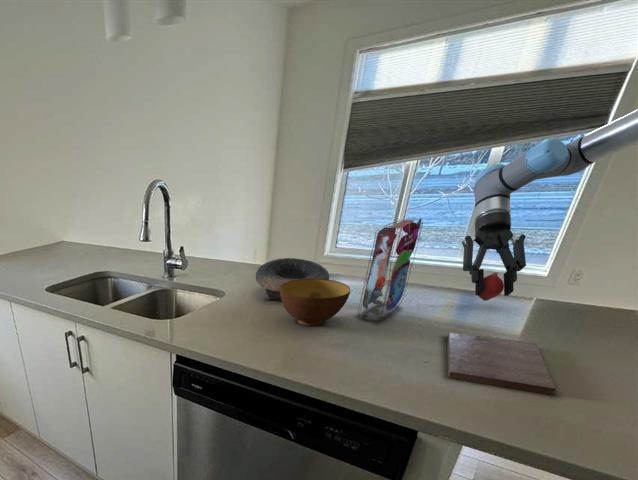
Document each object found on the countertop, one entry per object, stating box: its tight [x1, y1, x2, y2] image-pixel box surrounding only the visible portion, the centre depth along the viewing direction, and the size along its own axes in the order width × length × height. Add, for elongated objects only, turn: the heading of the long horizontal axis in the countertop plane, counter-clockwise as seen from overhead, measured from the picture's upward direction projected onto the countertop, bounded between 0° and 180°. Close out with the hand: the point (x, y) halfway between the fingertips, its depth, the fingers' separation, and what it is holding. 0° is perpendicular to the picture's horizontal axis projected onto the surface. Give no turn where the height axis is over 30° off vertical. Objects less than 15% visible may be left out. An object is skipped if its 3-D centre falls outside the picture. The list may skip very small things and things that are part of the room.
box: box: [357, 218, 424, 323], centre depth 113 cm, size 25×6×24 cm, turn 131°
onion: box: [474, 271, 504, 302], centre depth 111 cm, size 6×6×8 cm
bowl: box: [280, 279, 351, 327], centre depth 113 cm, size 18×18×10 cm
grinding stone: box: [255, 257, 330, 301], centre depth 135 cm, size 23×25×10 cm
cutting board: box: [446, 332, 557, 396], centre depth 88 cm, size 22×16×2 cm
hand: (494, 293), depth 108 cm, fingers closed on onion, 6 cm apart
